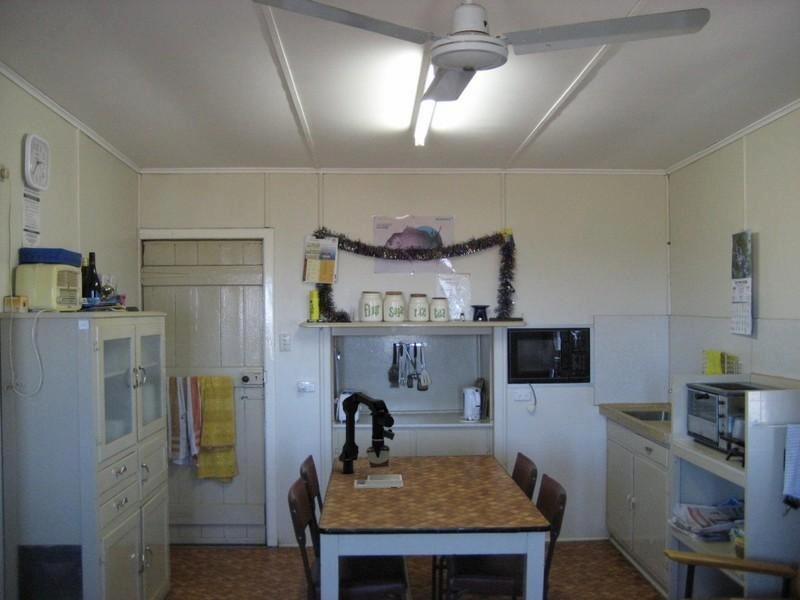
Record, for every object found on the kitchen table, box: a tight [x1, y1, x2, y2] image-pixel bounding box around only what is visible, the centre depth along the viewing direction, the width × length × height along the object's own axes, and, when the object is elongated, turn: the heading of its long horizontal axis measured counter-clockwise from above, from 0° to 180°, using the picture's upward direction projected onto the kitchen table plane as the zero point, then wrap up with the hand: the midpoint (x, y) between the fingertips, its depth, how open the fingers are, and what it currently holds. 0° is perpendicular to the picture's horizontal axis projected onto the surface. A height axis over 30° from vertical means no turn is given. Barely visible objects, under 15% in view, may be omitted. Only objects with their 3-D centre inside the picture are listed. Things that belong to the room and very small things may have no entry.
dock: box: [353, 474, 404, 489], centre depth 320 cm, size 12×24×4 cm, turn 93°
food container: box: [365, 444, 391, 470], centre depth 324 cm, size 12×6×10 cm, turn 92°
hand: (378, 456), depth 324 cm, fingers closed on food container, 6 cm apart
